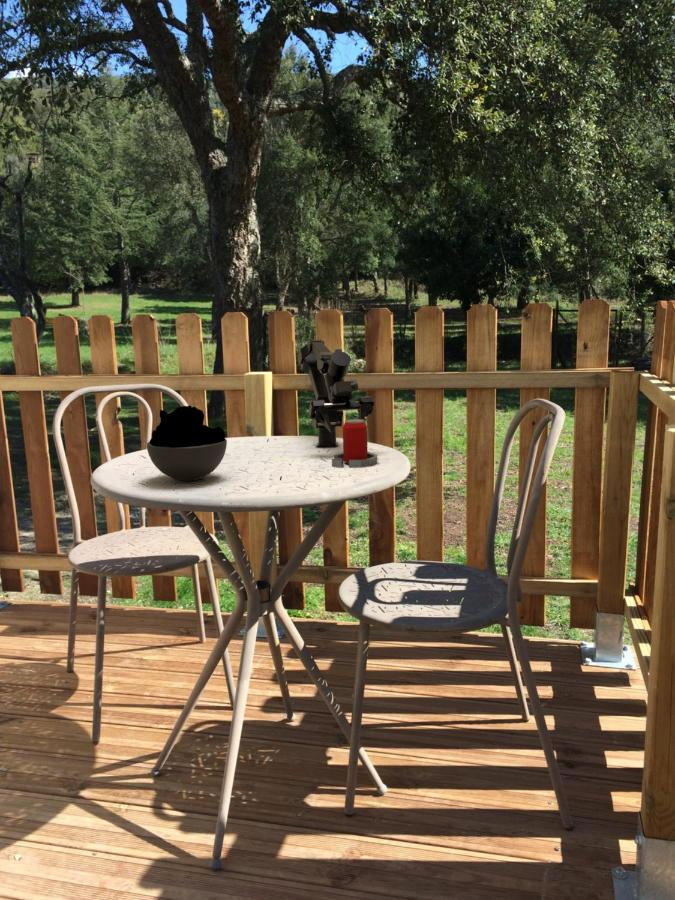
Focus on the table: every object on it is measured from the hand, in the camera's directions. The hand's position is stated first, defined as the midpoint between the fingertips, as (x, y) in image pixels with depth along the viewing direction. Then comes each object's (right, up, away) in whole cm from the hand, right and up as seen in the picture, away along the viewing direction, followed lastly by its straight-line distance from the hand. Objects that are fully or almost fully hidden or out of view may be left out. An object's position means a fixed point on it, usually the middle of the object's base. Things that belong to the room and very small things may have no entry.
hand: (347, 430), depth 217 cm
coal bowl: (-41, -13, -23) cm, 49 cm away
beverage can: (+2, -9, -6) cm, 11 cm away
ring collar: (+2, -9, -6) cm, 11 cm away
